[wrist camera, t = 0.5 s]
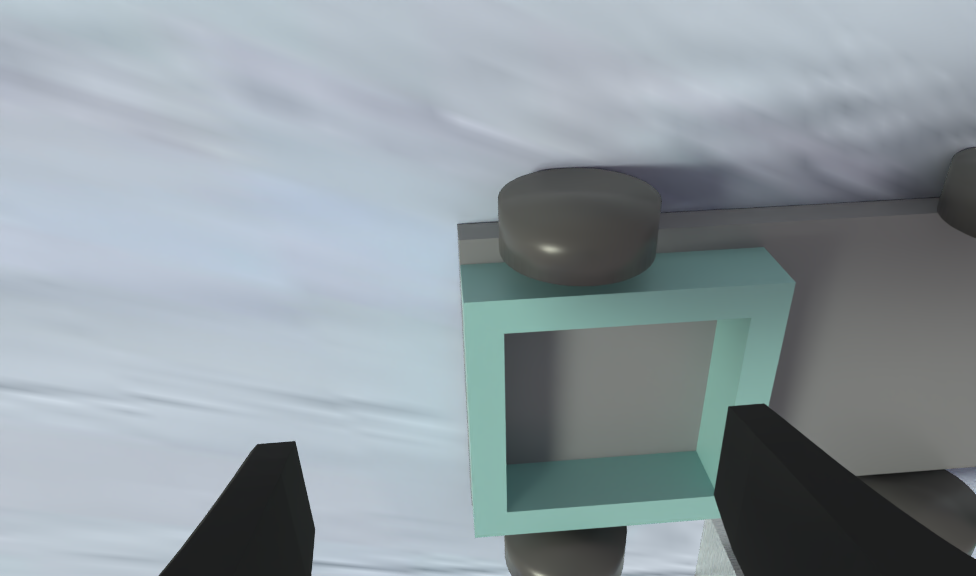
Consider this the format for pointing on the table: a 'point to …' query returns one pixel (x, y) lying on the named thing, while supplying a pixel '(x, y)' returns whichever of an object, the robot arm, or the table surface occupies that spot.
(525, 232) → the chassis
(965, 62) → the table surface
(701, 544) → the block
